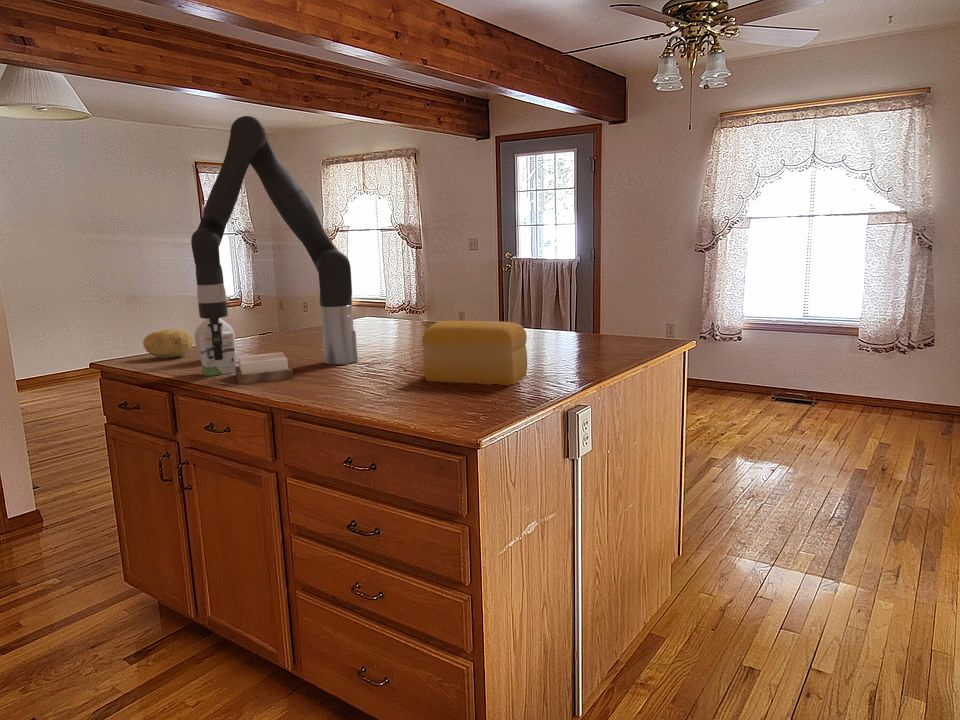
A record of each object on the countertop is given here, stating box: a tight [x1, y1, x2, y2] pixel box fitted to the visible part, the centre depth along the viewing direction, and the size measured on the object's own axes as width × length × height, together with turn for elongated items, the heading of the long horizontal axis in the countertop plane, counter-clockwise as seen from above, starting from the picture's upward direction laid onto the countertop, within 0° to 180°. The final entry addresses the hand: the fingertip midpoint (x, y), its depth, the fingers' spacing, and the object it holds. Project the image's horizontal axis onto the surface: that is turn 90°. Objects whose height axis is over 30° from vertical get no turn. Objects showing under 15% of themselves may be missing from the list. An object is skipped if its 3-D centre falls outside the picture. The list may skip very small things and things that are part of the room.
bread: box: [421, 320, 528, 386], centre depth 177 cm, size 24×13×15 cm, turn 69°
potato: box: [142, 329, 194, 359], centre depth 224 cm, size 10×14×10 cm
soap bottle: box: [194, 317, 238, 362], centre depth 215 cm, size 10×10×23 cm
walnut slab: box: [235, 364, 294, 385], centre depth 190 cm, size 14×14×3 cm
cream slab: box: [237, 351, 289, 375], centre depth 189 cm, size 12×12×3 cm
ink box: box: [199, 331, 237, 377], centre depth 196 cm, size 9×5×12 cm, turn 123°
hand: (218, 357), depth 196 cm, fingers open, 7 cm apart
